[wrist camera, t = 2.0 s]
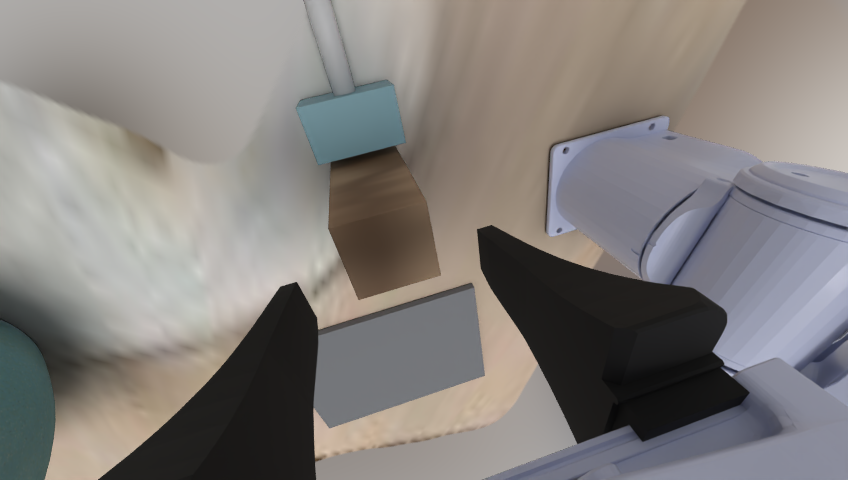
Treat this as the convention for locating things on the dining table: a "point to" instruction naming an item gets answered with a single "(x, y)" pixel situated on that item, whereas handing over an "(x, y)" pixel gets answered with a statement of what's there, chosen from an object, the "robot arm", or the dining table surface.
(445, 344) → the rubber mat
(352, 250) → the walnut block
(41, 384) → the teal bowl
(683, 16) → the dining table surface
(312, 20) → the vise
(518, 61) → the dining table surface
